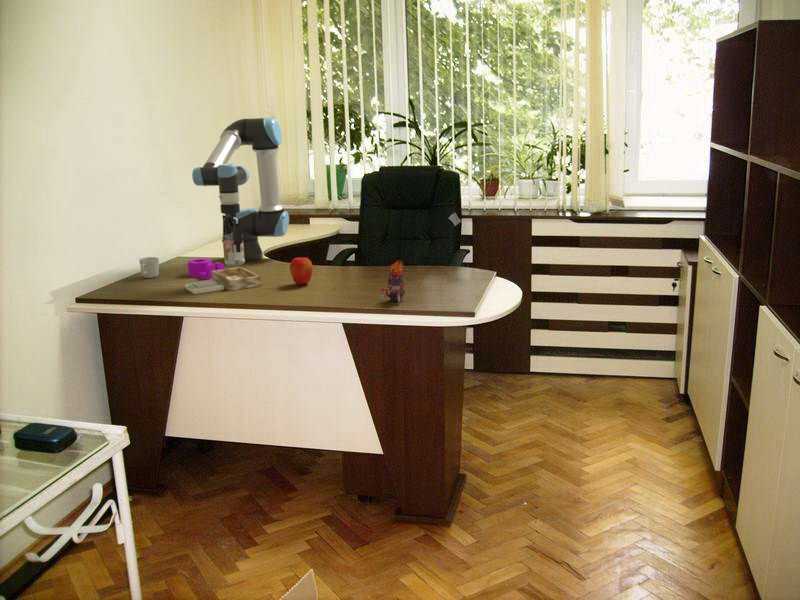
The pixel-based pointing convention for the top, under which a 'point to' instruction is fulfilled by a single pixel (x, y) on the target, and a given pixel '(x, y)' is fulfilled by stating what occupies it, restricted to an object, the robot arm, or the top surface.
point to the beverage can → (231, 251)
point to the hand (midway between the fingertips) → (234, 258)
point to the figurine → (395, 283)
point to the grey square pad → (203, 284)
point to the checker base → (203, 290)
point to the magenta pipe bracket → (203, 268)
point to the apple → (301, 270)
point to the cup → (149, 267)
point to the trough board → (236, 278)
